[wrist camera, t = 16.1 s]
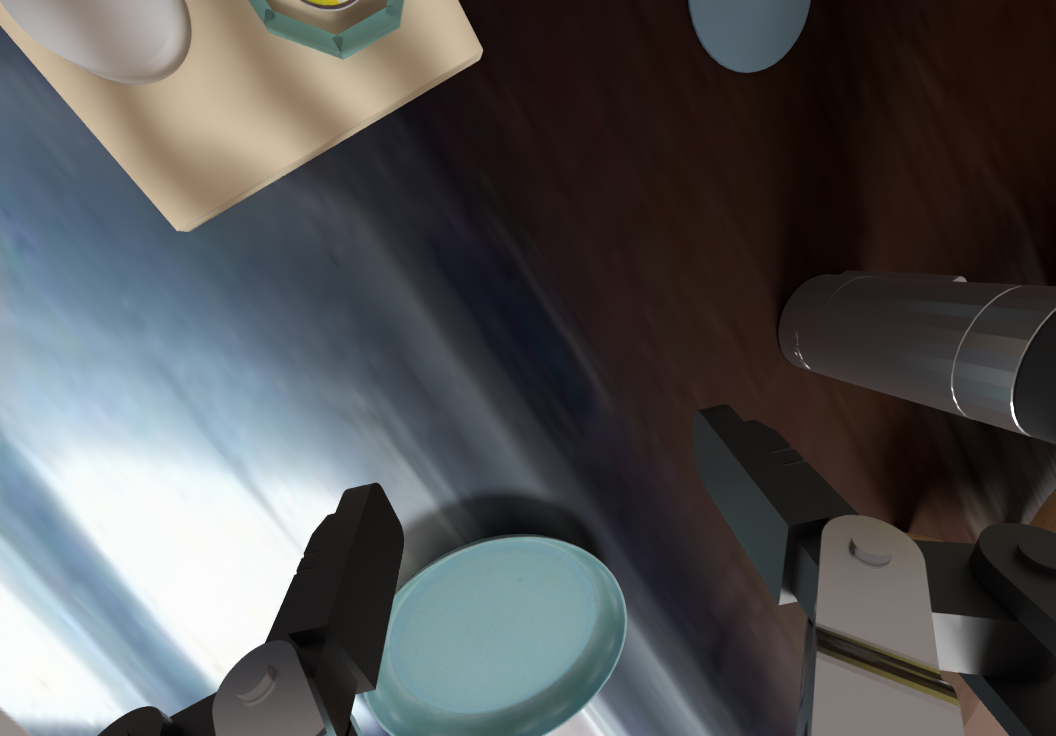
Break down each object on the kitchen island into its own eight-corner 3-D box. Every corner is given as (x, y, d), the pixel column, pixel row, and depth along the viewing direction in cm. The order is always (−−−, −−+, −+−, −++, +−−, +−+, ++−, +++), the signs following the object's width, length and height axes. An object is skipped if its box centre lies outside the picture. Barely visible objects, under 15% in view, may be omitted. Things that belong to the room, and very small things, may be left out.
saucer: (416, 489, 36) (416, 512, 33) (648, 540, 44) (666, 562, 41) (330, 720, 40) (323, 759, 37) (559, 728, 48) (569, 762, 44)
